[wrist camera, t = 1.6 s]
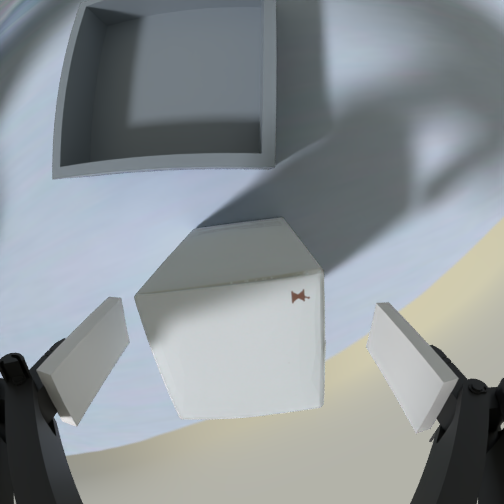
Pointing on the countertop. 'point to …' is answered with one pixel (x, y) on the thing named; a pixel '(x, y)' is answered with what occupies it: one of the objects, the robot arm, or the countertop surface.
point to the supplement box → (238, 322)
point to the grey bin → (167, 87)
